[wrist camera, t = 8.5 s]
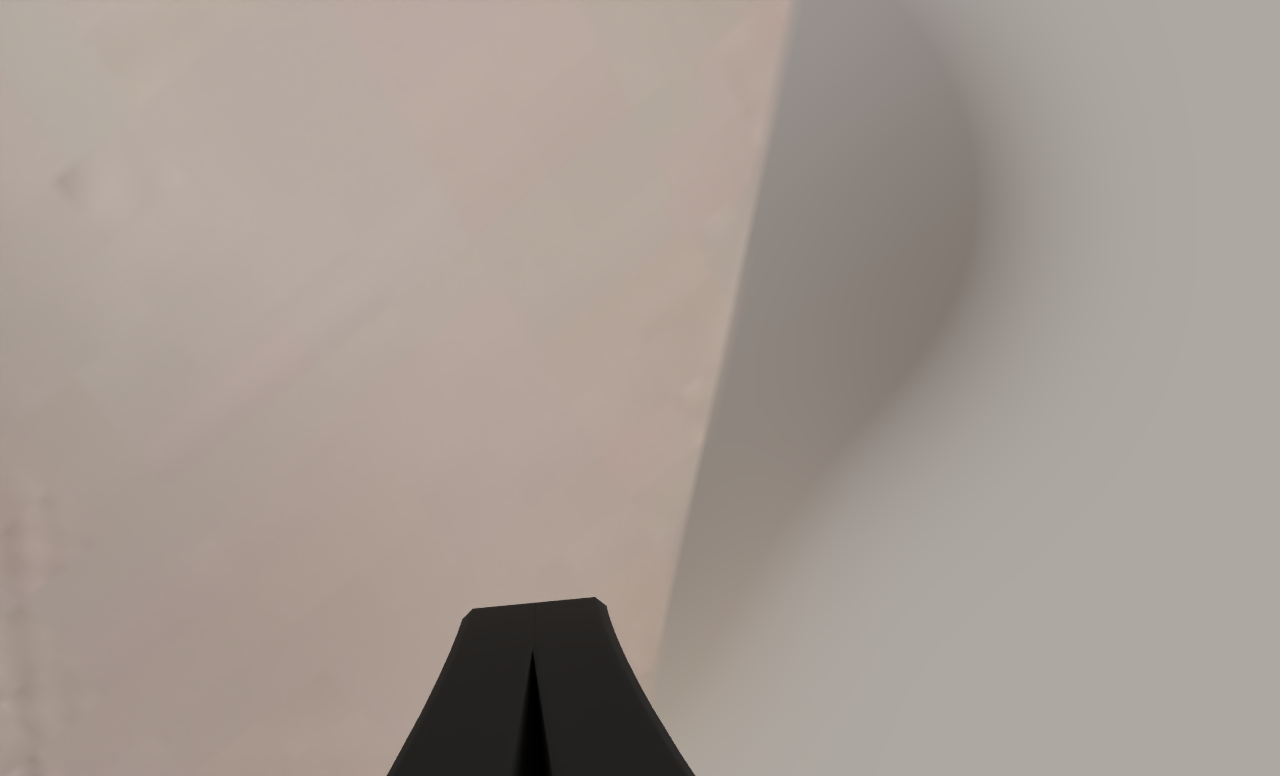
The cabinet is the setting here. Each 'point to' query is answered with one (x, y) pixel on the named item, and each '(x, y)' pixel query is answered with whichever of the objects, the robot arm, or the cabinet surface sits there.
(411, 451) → the cabinet surface
